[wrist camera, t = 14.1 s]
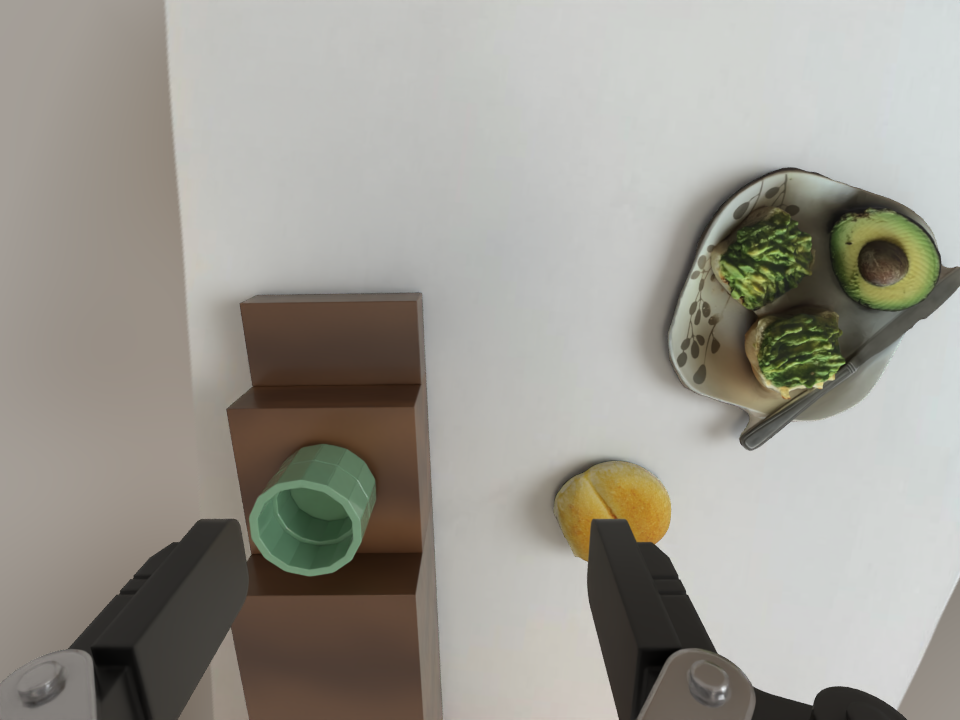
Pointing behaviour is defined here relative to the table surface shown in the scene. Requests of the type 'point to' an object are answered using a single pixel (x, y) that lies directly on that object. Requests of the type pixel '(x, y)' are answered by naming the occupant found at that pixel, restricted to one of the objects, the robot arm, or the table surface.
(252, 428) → the wooden stair steps
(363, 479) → the cup
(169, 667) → the robot arm
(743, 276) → the salad plate
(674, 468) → the table surface
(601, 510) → the bread roll
